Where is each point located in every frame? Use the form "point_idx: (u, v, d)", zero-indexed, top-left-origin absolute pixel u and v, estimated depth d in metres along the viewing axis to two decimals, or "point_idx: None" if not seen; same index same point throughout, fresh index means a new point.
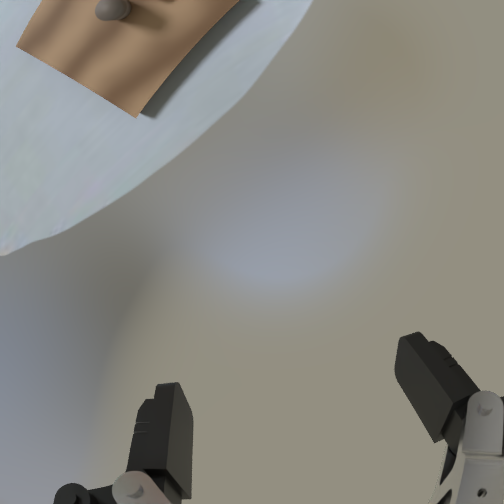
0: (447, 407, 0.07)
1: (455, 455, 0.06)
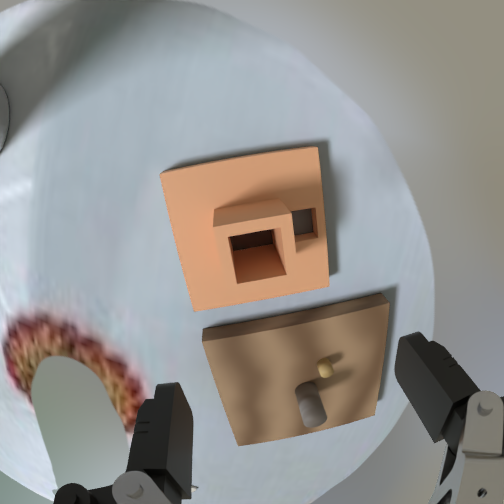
0: (447, 407, 0.07)
1: (455, 455, 0.06)
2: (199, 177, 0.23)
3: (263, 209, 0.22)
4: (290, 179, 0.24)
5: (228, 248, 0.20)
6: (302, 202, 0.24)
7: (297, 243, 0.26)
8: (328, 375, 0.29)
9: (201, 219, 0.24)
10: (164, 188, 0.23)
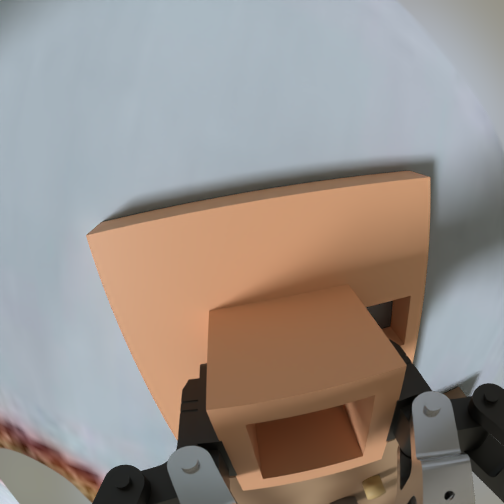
0: None
1: (410, 457, 0.07)
2: (172, 243, 0.10)
3: (328, 333, 0.09)
4: (374, 245, 0.11)
5: (246, 441, 0.07)
6: (390, 289, 0.11)
7: None
8: (377, 496, 0.16)
9: (183, 328, 0.11)
10: (99, 266, 0.10)
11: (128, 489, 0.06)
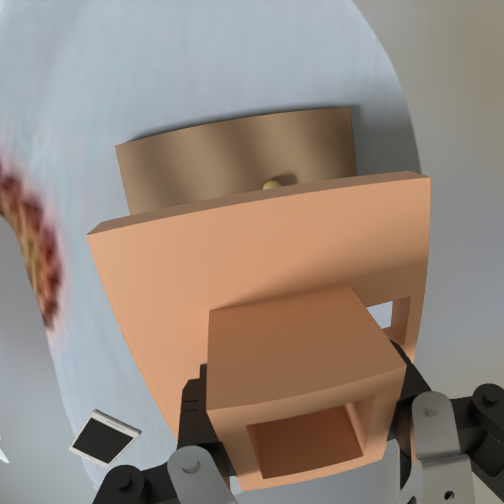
0: None
1: (409, 457, 0.07)
2: (172, 243, 0.10)
3: (328, 333, 0.09)
4: (375, 245, 0.11)
5: (247, 441, 0.07)
6: (390, 289, 0.11)
7: None
8: None
9: (183, 328, 0.11)
10: (99, 266, 0.10)
11: (128, 489, 0.06)
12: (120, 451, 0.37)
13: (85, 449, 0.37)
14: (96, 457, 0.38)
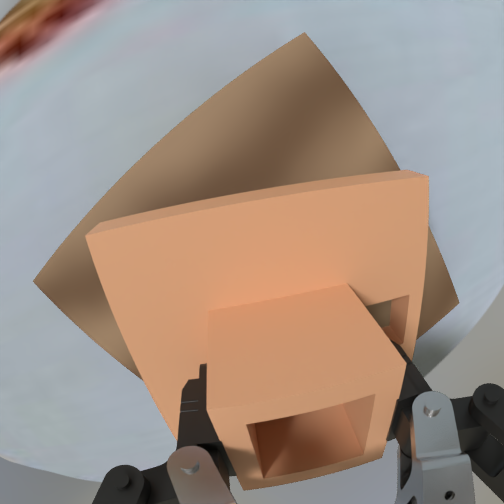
0: None
1: (410, 457, 0.07)
2: (171, 242, 0.10)
3: (328, 332, 0.09)
4: (373, 244, 0.11)
5: (247, 440, 0.07)
6: (389, 288, 0.11)
7: None
8: None
9: (182, 328, 0.11)
10: (98, 266, 0.10)
11: (128, 489, 0.06)
12: None
13: None
14: None
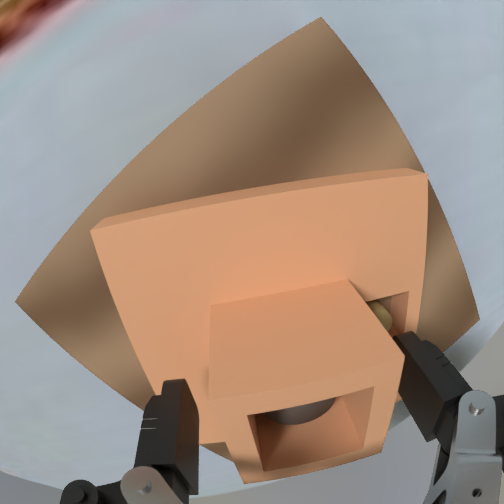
0: (439, 406, 0.07)
1: (448, 455, 0.07)
2: (175, 237, 0.10)
3: (327, 326, 0.09)
4: (373, 240, 0.11)
5: (248, 431, 0.08)
6: (388, 284, 0.12)
7: None
8: None
9: (185, 322, 0.11)
10: (102, 261, 0.10)
11: (83, 503, 0.05)
12: None
13: None
14: None
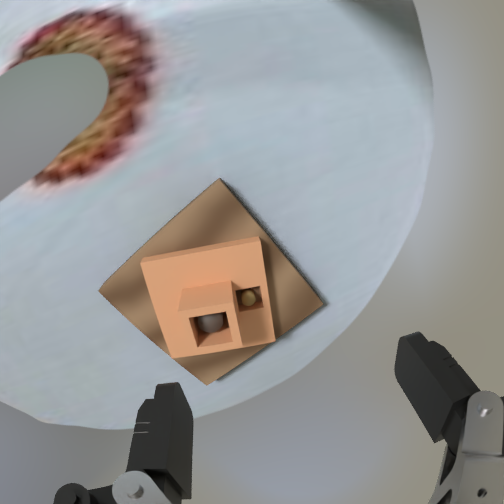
0: (447, 407, 0.07)
1: (455, 455, 0.06)
2: (169, 265, 0.30)
3: (215, 294, 0.29)
4: (239, 266, 0.31)
5: (189, 325, 0.28)
6: (249, 282, 0.32)
7: (247, 311, 0.33)
8: (246, 303, 0.33)
9: (173, 295, 0.32)
10: (144, 273, 0.30)
11: None
12: None
13: None
14: None
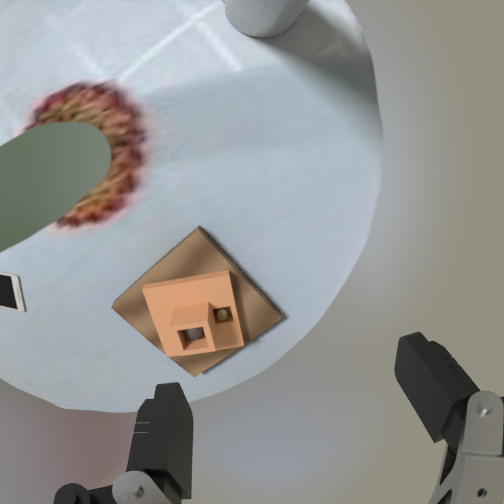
0: (447, 407, 0.07)
1: (455, 455, 0.06)
2: (163, 291, 0.41)
3: (196, 313, 0.40)
4: (214, 292, 0.42)
5: (177, 335, 0.39)
6: (222, 303, 0.43)
7: (221, 324, 0.44)
8: (220, 318, 0.44)
9: (166, 312, 0.43)
10: (145, 296, 0.41)
11: None
12: None
13: None
14: None
